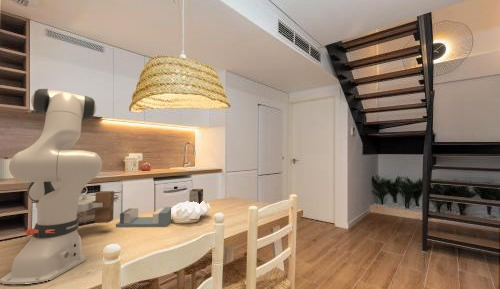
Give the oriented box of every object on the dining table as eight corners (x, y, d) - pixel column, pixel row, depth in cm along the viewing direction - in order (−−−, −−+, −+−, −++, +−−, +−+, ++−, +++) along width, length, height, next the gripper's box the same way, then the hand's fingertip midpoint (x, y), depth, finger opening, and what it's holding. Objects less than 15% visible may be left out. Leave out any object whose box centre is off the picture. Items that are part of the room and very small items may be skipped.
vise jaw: (129, 223, 126) (130, 213, 127) (119, 223, 126) (120, 213, 126) (138, 217, 137) (138, 208, 138) (128, 217, 137) (129, 208, 137)
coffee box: (199, 219, 140) (200, 191, 141) (188, 219, 141) (189, 191, 141) (203, 215, 150) (203, 188, 150) (192, 215, 150) (193, 188, 150)
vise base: (166, 226, 127) (166, 213, 127) (115, 227, 125) (116, 213, 125) (172, 219, 140) (172, 207, 140) (126, 219, 138) (127, 207, 138)
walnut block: (108, 222, 116) (108, 192, 116) (94, 222, 115) (95, 192, 116) (113, 219, 121) (114, 191, 121) (100, 220, 120) (101, 191, 121)
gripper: (61, 201, 107) (94, 200, 108) (88, 193, 128) (116, 193, 129) (60, 215, 107) (94, 215, 108) (88, 206, 127) (116, 205, 128)
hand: (106, 203), depth 118 cm, fingers closed on walnut block, 5 cm apart
